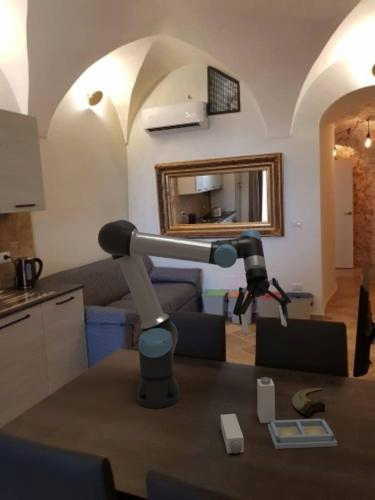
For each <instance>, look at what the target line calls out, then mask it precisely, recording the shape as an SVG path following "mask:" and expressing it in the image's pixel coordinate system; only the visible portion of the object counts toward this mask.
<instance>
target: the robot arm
mask: <svg viewBox="0 0 375 500" xmlns="http://www.w3.org/2000/svg"><path fill="white" fill-rule="evenodd" d="M97 242H98V245H99V247H100V248H101V250H102V251H104V253H106V254H108V255H111V257H112V260H113V262H116V263H118V264H119V266H120V269H121V271H122V275H123V276H124V278H125V282H126V283H127V286H128V288H129V291H130V294H131V297H132V299H133V301H134V304H135V307H136V308H137V311H138V313H139V316H140V319H141V321H142V322H141V325H139V326H140V327H139V328H140V330H141V332H142V333H141V334H140V335H139V338H138V344H137V345H138V353H139V369H140V380H139V384H138V387H137V391H136V401H137V403H138V404H139V405H140V406H143V407H145V408H149V409H161V408H167V407H169V406H172V405H174V404H175V403H177V402H178V400H180V397H181V395H180V394H181V393H180V392H181V391H180V387H179V385H178V383H177V380H176V377H175V374H174V353H175V349H176V346H177V343H178V341H179V333H178V329H177V327H176V325H175V324H174V323H173V322H172V321H171V317H170V316H169V314H168V313H165V312H164V311H163V308H162V306H161V304H160V301H159V298H158V296H157V293H156V291H155V288H154V286H153V284H152V281H151V278H150V275H149V273H148V270H147V268H146V265H145V263H144V261H143V257H142V256H149V257H156V258H162V259H163V258H164V259H172V260H180V261H185V262H195V263H201V264H209V265H215V266H219V267H220V268H223V269H227V268H228V269H229V268H231V267H233V266H234V265H235V264H236V263H237V260H238V259H239V260H240V259H241V260H242V259H243V266H244V272H245V273H244V275H245V281H246V286H245V287H241V286H240V287H239V288H238V295H237V298H236V302H235V305H234V307H233V310H232V314H233V315H235V316H236V317H238V321H239V325H241V327H242V333H243V334H244V335H247V336H248V335H250V334H249V326H248V319H247V315H246V313H247V311H248V309H249V307H250V305H251V303H252V302H253V301H254V299H255V298H260V297H264V296H266V295H268V296H270V297H271V298H273V299H274V300H275V301H276V302H278V303H279V304H280V305H278V309H279V310H278V311H279V317H280V321H281V326H283V327H287V326H288V323H287V320H286V316H287V315H288V314H289V313H288V307H287V306H288V304H291V303H292V300H291V298H290V297H289V296H288V295H287V294H286V292H285V291H284V289H283V288H282V287H281V285H280V284H279V281H278V279H276V278H275V277H272V278H271V280H269V276H268V271H267V264H266V259H265V253H264V247H263V246H264V245H263V241H262V236H261V233H260V232H259V231H258V230H255V229H247V230H245V231H242V232H241V233H240V235H239V237H238V238H232V239H231V238H230V239H222V240H221V239H218V240H213V241H206V240H202V239H193V238H186V237H178V236H171V235H162V234H155V233H148V232H147V233H146V232H140V231H139V229H138V228H137V226H136V225H135V224H134V223H133V222H131V221H129V220H126V219H117V220H115V221H110V222H107V223H106V224H104V225H103V226H102V227H101V228H100V230H99V232H98V234H97ZM271 285H272V286H273V287H274V288H275V290H276V291H277V292H278V293H279V294H280V296H281V297H282V298H283V299H281V298H280V297H279V296H277V294H274V293H273V292H272V291H271V290H270V289H269V288H270V286H271ZM245 296H246V297H245Z"/></svg>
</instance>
